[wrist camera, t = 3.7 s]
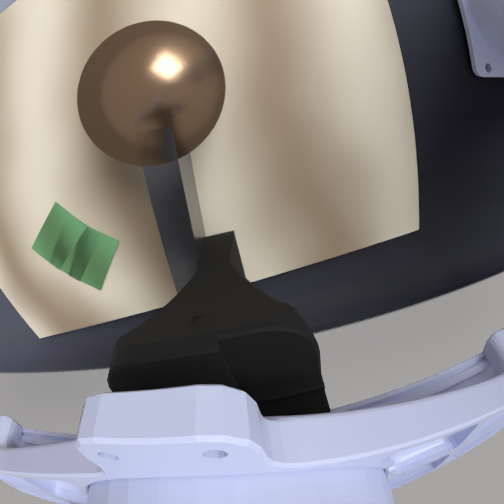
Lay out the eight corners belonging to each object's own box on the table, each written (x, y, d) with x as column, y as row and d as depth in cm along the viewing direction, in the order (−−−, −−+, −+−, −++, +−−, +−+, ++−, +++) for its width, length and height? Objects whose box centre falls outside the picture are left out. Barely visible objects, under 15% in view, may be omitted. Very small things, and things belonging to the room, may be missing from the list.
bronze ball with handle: (102, 50, 8) (67, 46, 6) (216, 24, 8) (216, 7, 6) (166, 304, 14) (159, 350, 12) (251, 292, 14) (259, 339, 12)
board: (336, -90, 6) (346, -101, 5) (407, 218, 15) (420, 230, 14) (-70, 101, 8) (-85, 106, 7) (46, 324, 16) (39, 339, 15)
